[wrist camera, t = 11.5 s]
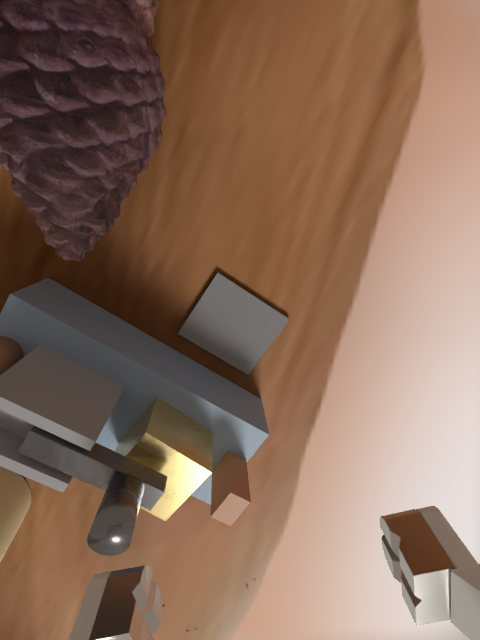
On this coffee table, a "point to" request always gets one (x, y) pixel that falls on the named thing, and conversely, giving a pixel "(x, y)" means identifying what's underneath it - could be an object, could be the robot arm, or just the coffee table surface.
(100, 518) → the ball-knob lever
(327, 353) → the coffee table surface
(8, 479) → the coffee cup
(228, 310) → the mat
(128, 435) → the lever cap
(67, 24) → the pine cone
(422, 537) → the robot arm
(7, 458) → the plane body
